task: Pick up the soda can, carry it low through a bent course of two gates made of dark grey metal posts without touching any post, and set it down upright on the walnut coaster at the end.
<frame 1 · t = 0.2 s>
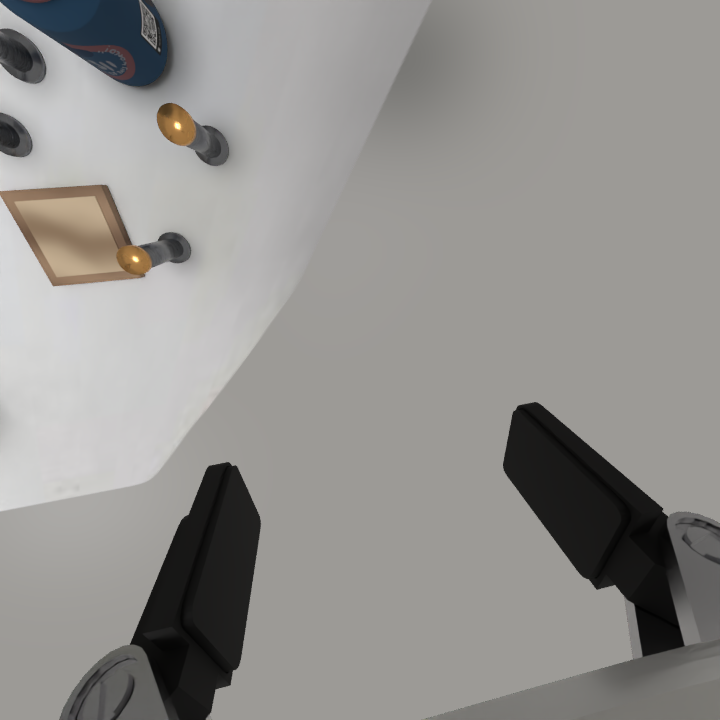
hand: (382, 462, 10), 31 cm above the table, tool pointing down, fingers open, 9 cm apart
post 2a: (175, 247, 33), on the table
walnut coaster: (82, 237, 31), on the table
post 1a: (211, 146, 29), on the table
soda can: (130, 39, 25), on the table
post 1b: (22, 58, 24), on the table
post 2b: (9, 135, 26), on the table
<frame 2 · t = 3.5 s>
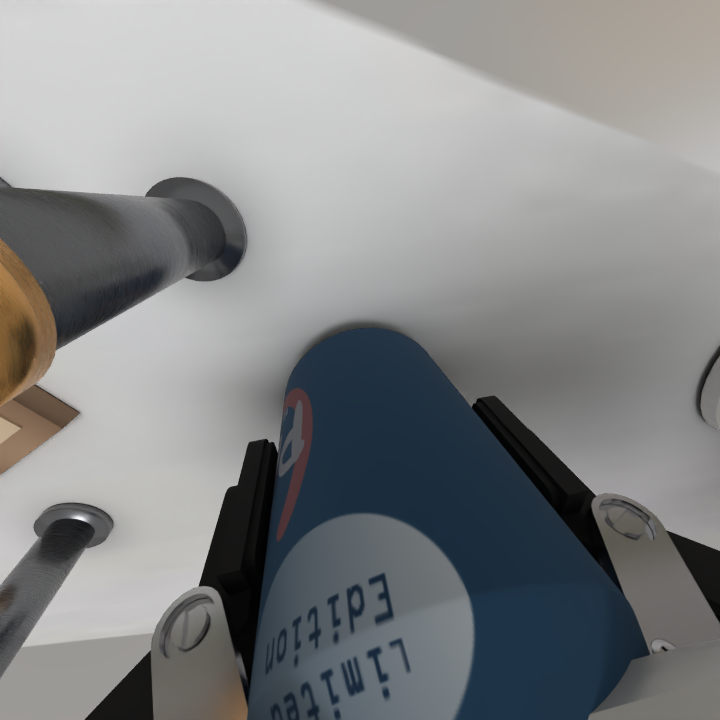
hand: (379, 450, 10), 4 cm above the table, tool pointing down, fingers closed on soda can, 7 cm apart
post 2a: (77, 523, 15), on the table
soda can: (359, 382, 14), on the table, touching gripper
post 1b: (198, 232, 10), on the table
when the fingers open (7 cm above the table, at t = 10.1 s): soda can drops 1 cm, resting on walnut coaster.
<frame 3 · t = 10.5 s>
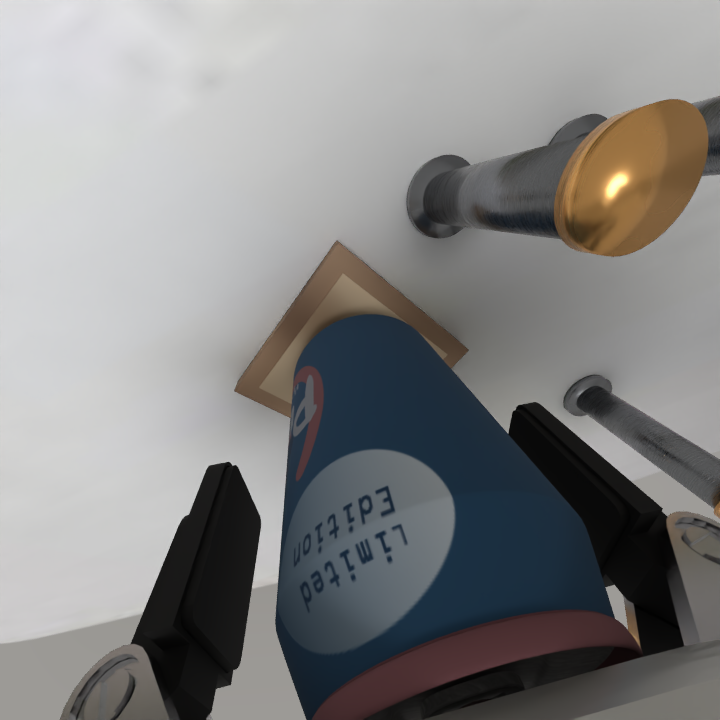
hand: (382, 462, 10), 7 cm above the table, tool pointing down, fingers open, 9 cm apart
walnut coaster: (353, 361, 16), on the table
post 1a: (585, 394, 20), on the table
soda can: (360, 366, 15), point 1 cm above the table, touching walnut coaster
post 1b: (574, 161, 13), on the table
post 2b: (440, 199, 13), on the table
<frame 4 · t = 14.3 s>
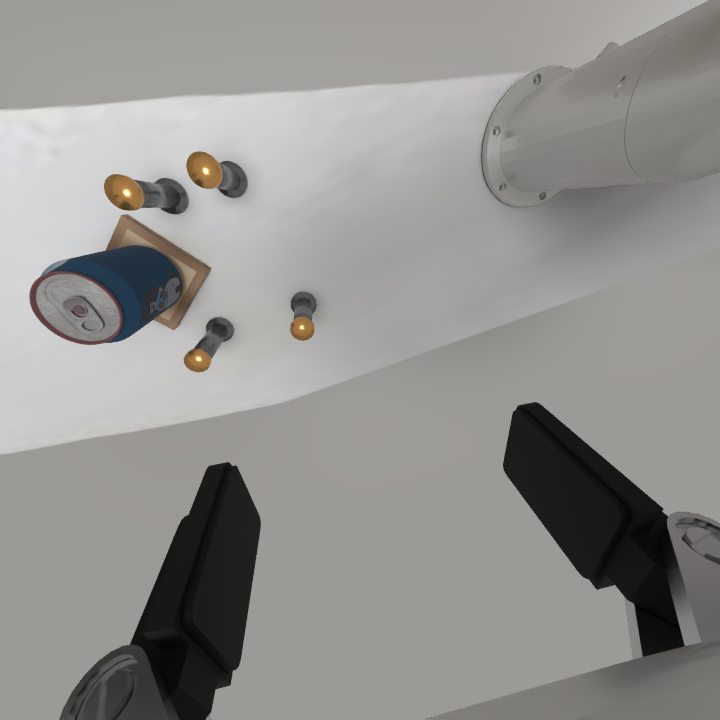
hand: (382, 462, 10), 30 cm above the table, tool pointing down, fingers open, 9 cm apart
post 2a: (220, 329, 37), on the table
walnut coaster: (154, 276, 33), on the table
post 1a: (303, 304, 37), on the table
soda can: (153, 276, 32), point 1 cm above the table, touching walnut coaster
post 1b: (231, 180, 30), on the table
post 2b: (171, 196, 30), on the table
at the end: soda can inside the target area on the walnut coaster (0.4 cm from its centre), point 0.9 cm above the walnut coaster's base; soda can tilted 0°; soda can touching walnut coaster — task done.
